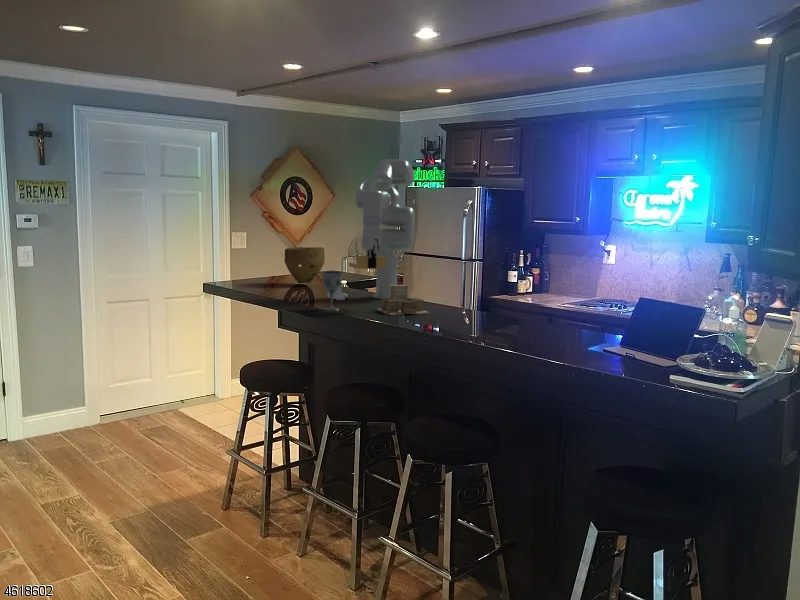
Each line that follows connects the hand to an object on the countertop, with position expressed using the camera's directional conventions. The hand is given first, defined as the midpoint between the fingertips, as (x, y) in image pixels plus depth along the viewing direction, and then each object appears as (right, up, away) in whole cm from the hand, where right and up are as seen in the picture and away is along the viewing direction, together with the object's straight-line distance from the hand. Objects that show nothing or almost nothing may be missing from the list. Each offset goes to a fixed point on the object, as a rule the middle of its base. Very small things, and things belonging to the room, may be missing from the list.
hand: (371, 267), depth 261 cm
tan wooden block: (-2, 0, +5) cm, 5 cm away
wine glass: (-16, -17, +1) cm, 23 cm away
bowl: (-38, -6, +78) cm, 87 cm away
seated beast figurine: (-17, -13, +31) cm, 38 cm away
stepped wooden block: (+13, -18, 0) cm, 22 cm away
